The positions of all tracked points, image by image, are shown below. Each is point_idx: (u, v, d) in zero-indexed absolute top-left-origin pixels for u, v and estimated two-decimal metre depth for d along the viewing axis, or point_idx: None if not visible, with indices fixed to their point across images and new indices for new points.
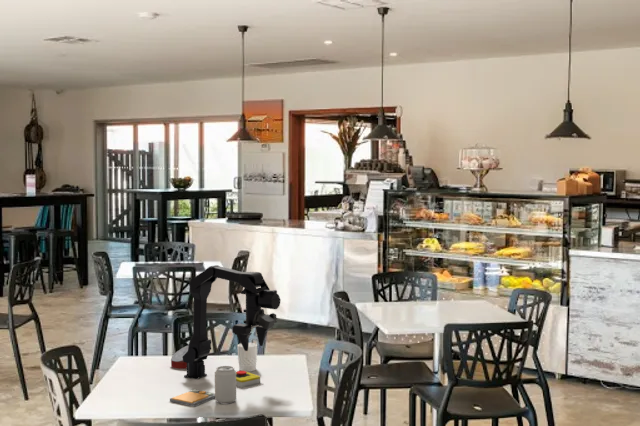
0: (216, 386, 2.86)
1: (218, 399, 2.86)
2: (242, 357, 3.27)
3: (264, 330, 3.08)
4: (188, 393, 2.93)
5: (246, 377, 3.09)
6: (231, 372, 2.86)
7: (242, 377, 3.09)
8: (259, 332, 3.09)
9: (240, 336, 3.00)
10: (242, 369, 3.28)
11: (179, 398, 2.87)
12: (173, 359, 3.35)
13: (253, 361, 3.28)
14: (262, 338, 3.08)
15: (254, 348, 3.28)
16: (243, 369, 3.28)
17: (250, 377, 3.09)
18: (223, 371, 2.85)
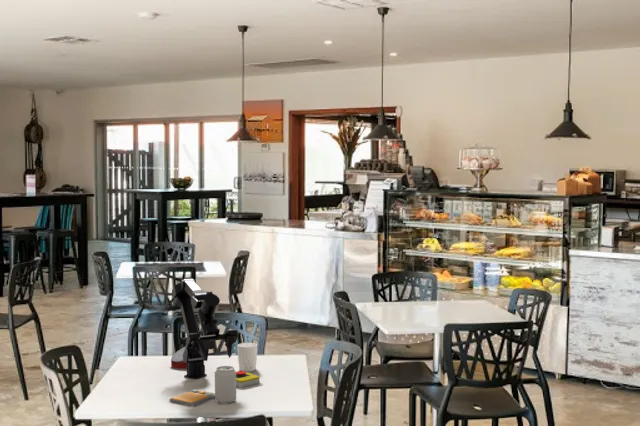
0: (216, 386, 2.86)
1: (218, 399, 2.86)
2: (242, 357, 3.27)
3: None
4: (188, 393, 2.93)
5: (245, 377, 3.09)
6: (231, 372, 2.86)
7: (241, 377, 3.09)
8: None
9: None
10: (242, 369, 3.28)
11: (179, 398, 2.87)
12: (173, 359, 3.35)
13: (253, 361, 3.28)
14: None
15: (254, 348, 3.28)
16: (243, 369, 3.28)
17: (249, 377, 3.09)
18: (223, 371, 2.85)
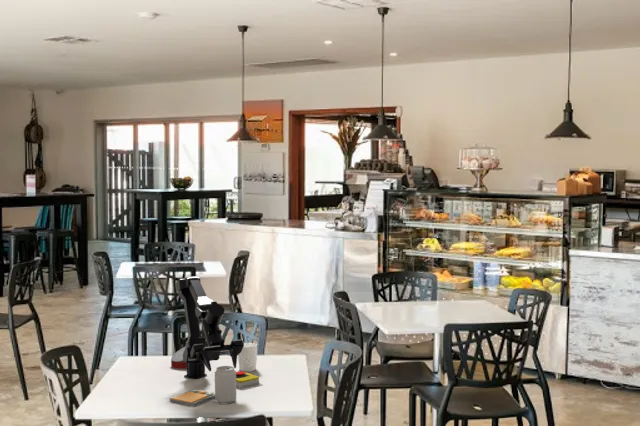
0: (216, 386, 2.86)
1: (218, 399, 2.86)
2: (242, 357, 3.27)
3: None
4: (188, 393, 2.93)
5: (245, 377, 3.09)
6: (231, 372, 2.86)
7: (241, 377, 3.09)
8: None
9: None
10: (242, 369, 3.28)
11: (179, 398, 2.87)
12: (173, 359, 3.35)
13: (253, 361, 3.28)
14: None
15: (254, 348, 3.28)
16: (243, 369, 3.28)
17: (249, 377, 3.09)
18: (223, 371, 2.85)
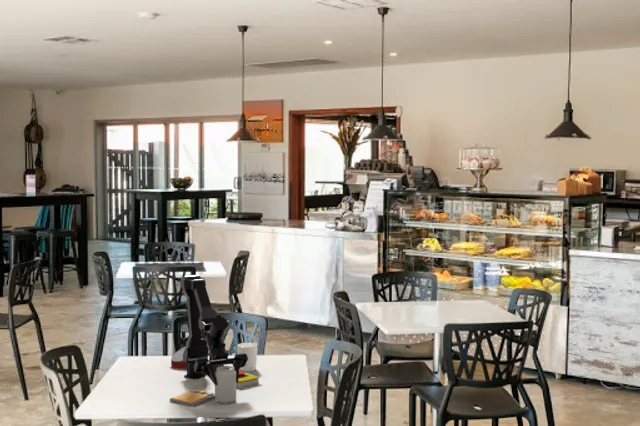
0: (216, 386, 2.86)
1: (218, 399, 2.86)
2: None
3: None
4: (188, 393, 2.93)
5: (244, 378, 3.08)
6: (231, 372, 2.86)
7: (240, 378, 3.08)
8: None
9: None
10: (242, 369, 3.28)
11: (179, 398, 2.87)
12: (173, 359, 3.35)
13: (253, 361, 3.28)
14: None
15: (254, 348, 3.28)
16: (243, 369, 3.28)
17: (248, 378, 3.08)
18: (223, 371, 2.85)
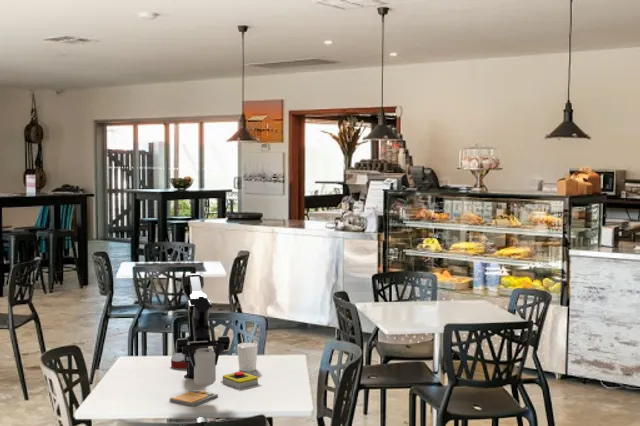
0: (194, 368, 2.86)
1: (196, 381, 2.86)
2: (242, 357, 3.27)
3: None
4: (188, 393, 2.93)
5: (244, 378, 3.08)
6: (209, 354, 2.85)
7: (240, 378, 3.08)
8: None
9: None
10: (242, 369, 3.28)
11: (179, 398, 2.87)
12: (173, 359, 3.35)
13: (253, 361, 3.28)
14: None
15: (254, 348, 3.28)
16: (243, 369, 3.28)
17: (248, 378, 3.08)
18: (200, 353, 2.85)
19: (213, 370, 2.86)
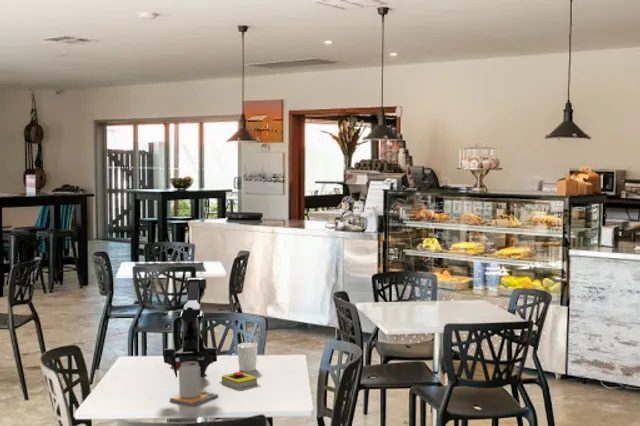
0: (179, 380, 2.88)
1: (180, 394, 2.87)
2: (242, 357, 3.27)
3: None
4: None
5: (243, 378, 3.07)
6: (192, 368, 2.86)
7: (239, 378, 3.07)
8: None
9: None
10: (242, 369, 3.28)
11: (179, 398, 2.87)
12: None
13: (253, 361, 3.28)
14: None
15: (254, 348, 3.28)
16: (243, 369, 3.28)
17: (247, 378, 3.07)
18: (184, 366, 2.86)
19: (197, 384, 2.87)
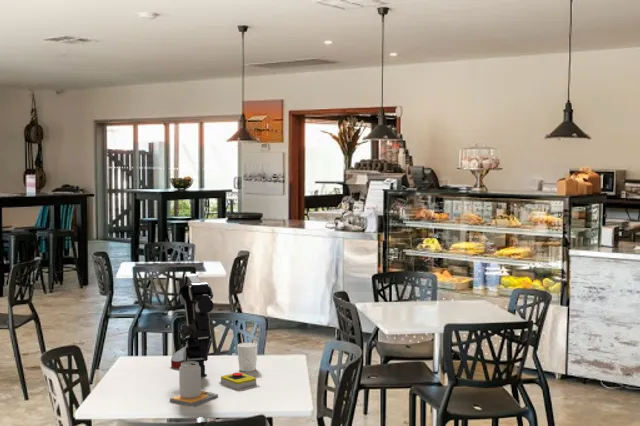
0: (179, 380, 2.88)
1: (180, 393, 2.87)
2: (242, 357, 3.27)
3: None
4: None
5: (242, 379, 3.07)
6: (193, 368, 2.86)
7: (238, 379, 3.07)
8: None
9: None
10: (242, 369, 3.28)
11: (179, 398, 2.87)
12: (173, 359, 3.35)
13: (253, 361, 3.28)
14: None
15: (254, 348, 3.28)
16: (243, 369, 3.28)
17: (246, 379, 3.07)
18: (185, 366, 2.86)
19: (197, 384, 2.87)
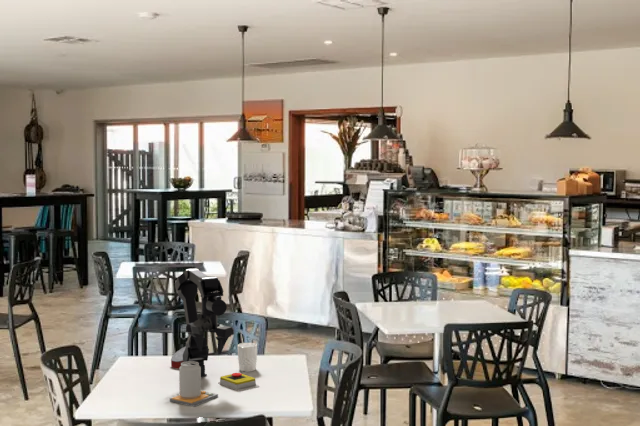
0: (179, 380, 2.88)
1: (180, 393, 2.87)
2: (242, 357, 3.27)
3: None
4: None
5: (241, 379, 3.07)
6: (193, 368, 2.86)
7: (237, 379, 3.07)
8: None
9: (199, 335, 3.10)
10: (242, 369, 3.28)
11: (179, 398, 2.87)
12: (173, 359, 3.35)
13: (253, 361, 3.28)
14: None
15: (254, 348, 3.28)
16: (243, 369, 3.28)
17: (245, 379, 3.07)
18: (185, 366, 2.86)
19: (197, 384, 2.87)
